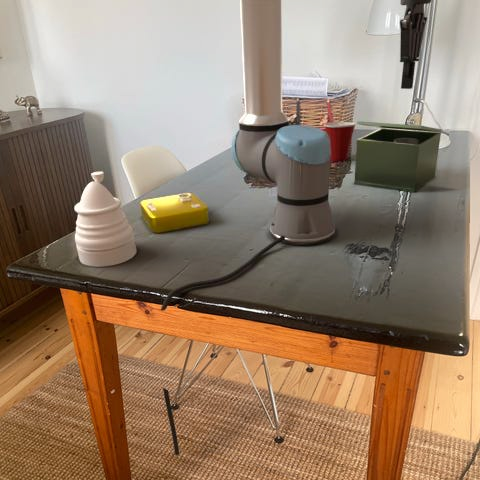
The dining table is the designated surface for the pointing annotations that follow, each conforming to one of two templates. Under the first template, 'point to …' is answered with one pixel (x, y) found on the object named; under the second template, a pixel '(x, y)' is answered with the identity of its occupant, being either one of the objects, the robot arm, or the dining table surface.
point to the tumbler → (407, 140)
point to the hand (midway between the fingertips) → (406, 88)
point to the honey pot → (102, 227)
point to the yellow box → (174, 212)
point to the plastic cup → (339, 139)
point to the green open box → (396, 159)
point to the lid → (399, 126)
